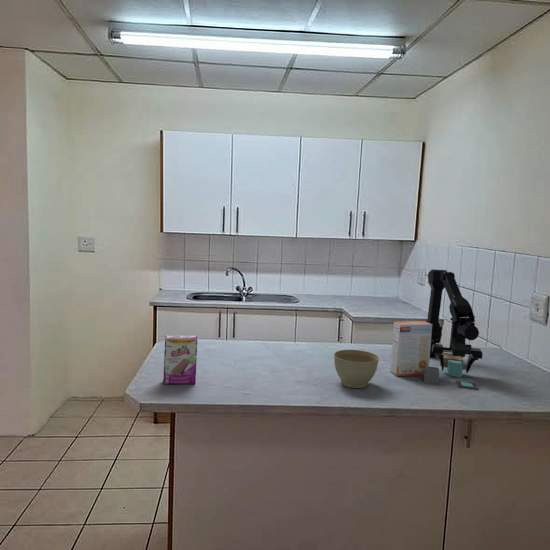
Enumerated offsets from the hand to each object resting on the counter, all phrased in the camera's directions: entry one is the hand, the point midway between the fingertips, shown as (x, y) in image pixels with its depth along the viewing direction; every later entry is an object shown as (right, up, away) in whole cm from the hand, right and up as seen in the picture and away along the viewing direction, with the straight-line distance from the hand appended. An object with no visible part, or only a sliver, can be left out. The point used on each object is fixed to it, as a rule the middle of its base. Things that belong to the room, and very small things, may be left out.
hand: (454, 371), depth 201 cm
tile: (0, -3, -13) cm, 13 cm away
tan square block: (+3, 0, +14) cm, 14 cm away
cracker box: (-19, -1, -3) cm, 19 cm away
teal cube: (0, -1, 0) cm, 1 cm away
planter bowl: (-43, -1, -18) cm, 47 cm away
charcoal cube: (-13, -2, -10) cm, 16 cm away
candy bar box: (-106, +1, -26) cm, 109 cm away
